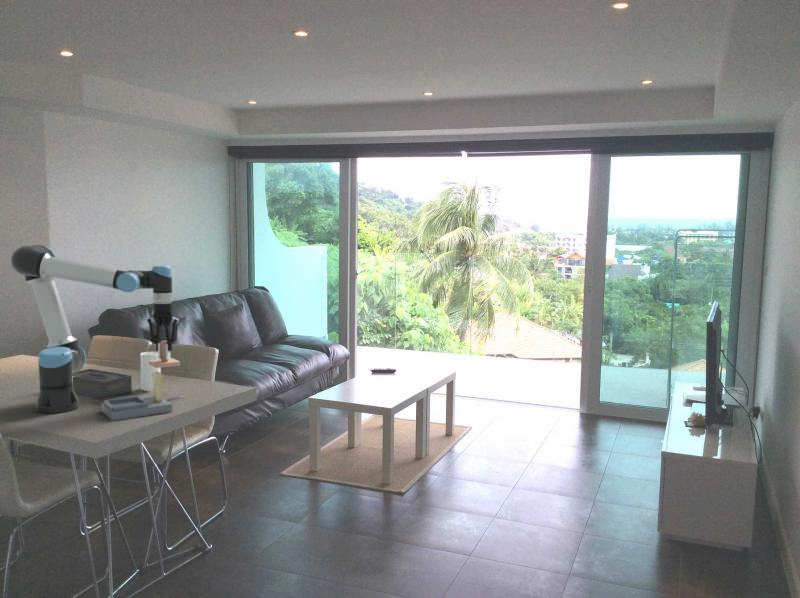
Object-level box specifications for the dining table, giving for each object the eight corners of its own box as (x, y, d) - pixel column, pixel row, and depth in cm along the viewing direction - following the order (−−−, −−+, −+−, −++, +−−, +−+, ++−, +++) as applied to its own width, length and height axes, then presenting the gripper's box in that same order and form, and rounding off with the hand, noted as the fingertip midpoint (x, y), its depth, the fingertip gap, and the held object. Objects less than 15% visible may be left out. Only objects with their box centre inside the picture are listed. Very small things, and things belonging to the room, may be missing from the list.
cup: (138, 391, 295) (137, 354, 293) (145, 386, 303) (144, 351, 301) (157, 391, 295) (156, 355, 293) (163, 386, 303) (162, 351, 302)
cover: (156, 368, 275) (155, 343, 274) (148, 364, 283) (148, 340, 282) (180, 365, 281) (179, 341, 280) (172, 361, 289) (172, 338, 288)
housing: (112, 420, 249) (112, 408, 248) (101, 411, 261) (101, 399, 261) (172, 411, 262) (171, 400, 261) (159, 403, 274) (158, 392, 274)
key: (147, 396, 272) (147, 369, 271) (153, 395, 274) (153, 368, 273) (157, 402, 262) (156, 375, 261) (163, 401, 264) (162, 374, 263)
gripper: (140, 303, 277) (142, 359, 280) (176, 304, 275) (177, 361, 277) (149, 301, 285) (151, 356, 287) (184, 302, 282) (186, 357, 285)
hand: (164, 358), depth 282 cm, fingers closed on cover, 2 cm apart
